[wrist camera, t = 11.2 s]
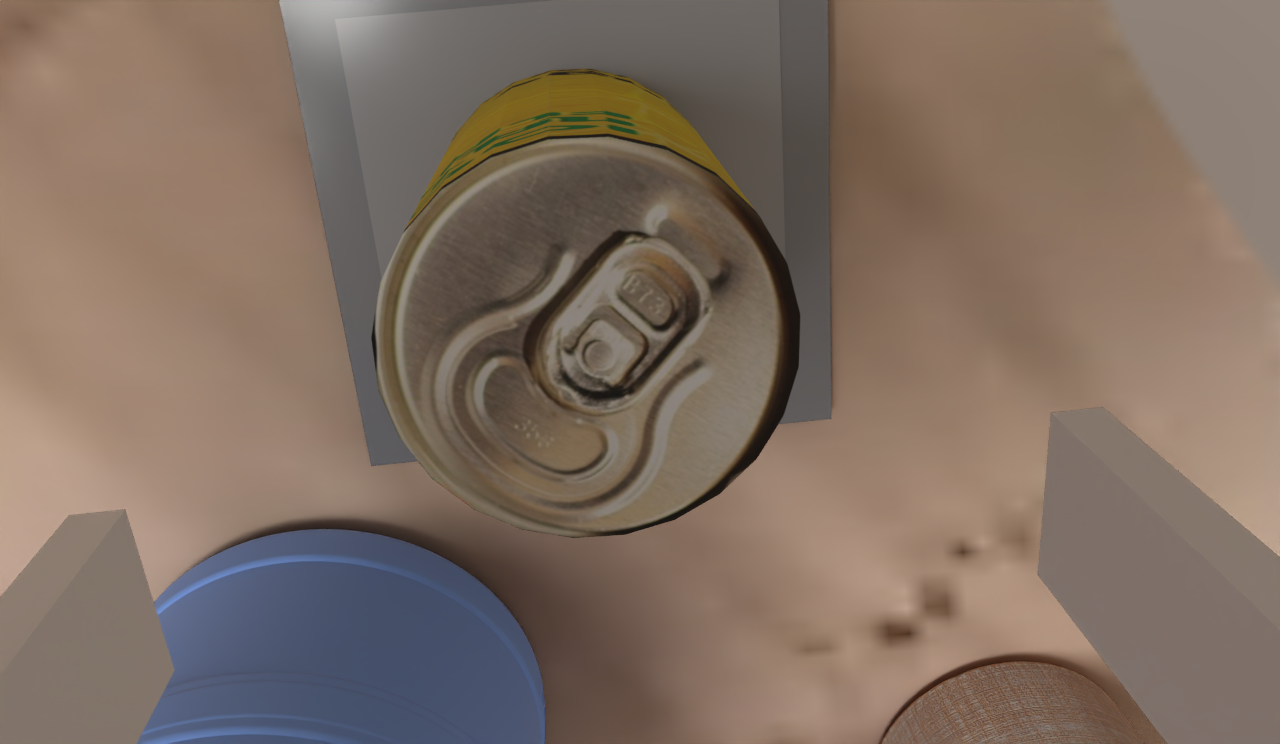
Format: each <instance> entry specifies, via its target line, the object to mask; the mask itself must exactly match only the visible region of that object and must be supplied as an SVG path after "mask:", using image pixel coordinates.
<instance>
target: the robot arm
mask: <svg viewBox="0 0 1280 744" xmlns="http://www.w3.org/2000/svg"><path fill="white" fill-rule="evenodd" d="M1038 576H1039V577H1040V578H1041V580H1042V581H1043V582H1044V584H1045V585H1046V586H1047V587H1048V589H1049V590H1050V591H1051V593H1052V594H1053V595H1054V597H1055V598H1056V599H1057V600H1058V602H1059V603H1060V604H1061V606H1062V607H1063V608H1064V610H1065V611H1066V612H1067V614H1068V615H1069V616H1070V617H1071V619H1072V620H1073V621H1074V623H1075V624H1076V625H1077V627H1078V628H1079V629H1080V631H1081V632H1082V633H1083V634H1084V636H1085V637H1086V638H1087V640H1088V641H1089V642H1090V644H1091V645H1092V646H1093V648H1094V649H1095V650H1096V651H1097V653H1098V654H1099V655H1100V657H1101V658H1102V659H1103V661H1104V662H1105V663H1106V665H1107V666H1108V667H1109V668H1110V670H1111V671H1112V672H1113V674H1114V675H1115V676H1116V678H1117V679H1118V680H1119V682H1120V683H1121V684H1122V685H1123V687H1124V688H1125V689H1126V691H1127V692H1128V693H1129V695H1130V696H1131V697H1132V698H1133V700H1134V701H1135V702H1136V704H1137V705H1138V706H1139V708H1140V709H1141V710H1142V712H1143V713H1144V714H1145V715H1146V717H1147V718H1148V719H1149V721H1150V722H1151V723H1152V725H1153V726H1154V727H1155V729H1156V730H1157V731H1158V732H1159V734H1160V735H1161V736H1162V738H1163V739H1164V740H1165V742H1166V743H1167V744H1280V557H1279V556H1278V555H1277V554H1276V553H1274V552H1273V551H1272V550H1271V549H1270V548H1269V547H1267V546H1266V545H1265V544H1264V543H1263V542H1261V541H1260V540H1259V539H1258V538H1257V537H1256V536H1254V535H1253V534H1252V533H1251V532H1250V531H1248V530H1247V529H1246V528H1245V527H1244V526H1243V525H1241V524H1240V523H1239V522H1238V521H1237V520H1235V519H1234V518H1233V517H1232V516H1231V515H1230V514H1228V513H1227V512H1226V511H1225V510H1224V509H1223V508H1221V507H1220V506H1219V505H1218V504H1217V503H1215V502H1214V501H1213V500H1212V499H1211V498H1210V497H1208V496H1207V495H1206V494H1205V493H1204V492H1202V491H1201V490H1200V489H1199V488H1198V487H1197V486H1195V485H1194V484H1193V483H1192V482H1191V481H1189V480H1188V479H1187V478H1186V477H1185V476H1184V475H1182V474H1181V473H1180V472H1179V471H1178V470H1176V469H1175V468H1174V467H1173V466H1172V465H1171V464H1169V463H1168V462H1167V461H1166V460H1165V459H1164V458H1162V457H1161V456H1160V455H1159V454H1158V453H1156V452H1155V451H1154V450H1153V449H1152V448H1151V447H1149V446H1148V445H1147V444H1146V443H1145V442H1143V441H1142V440H1141V439H1140V438H1139V437H1138V436H1136V435H1135V434H1134V433H1133V432H1132V431H1130V430H1129V429H1128V428H1127V427H1126V426H1125V425H1123V424H1122V423H1121V422H1120V421H1119V420H1117V419H1116V418H1115V417H1114V416H1113V415H1112V414H1110V413H1109V412H1108V411H1107V410H1106V409H1105V408H1103V407H1100V408H1090V409H1080V410H1071V411H1061V412H1052V413H1051V418H1050V430H1049V442H1048V455H1047V467H1046V479H1045V491H1044V503H1043V515H1042V528H1041V540H1040V552H1039V564H1038ZM174 671H175V670H174V667H173V663H172V660H171V657H170V654H169V650H168V647H167V644H166V641H165V637H164V634H163V631H162V628H161V624H160V621H159V618H158V615H157V611H156V608H155V605H154V602H153V598H152V595H151V592H150V589H149V585H148V582H147V579H146V576H145V572H144V569H143V566H142V563H141V559H140V556H139V553H138V550H137V546H136V543H135V540H134V536H133V533H132V530H131V527H130V523H129V520H128V517H127V514H126V510H125V509H124V510H115V511H105V512H96V513H86V514H77V515H69V516H68V517H67V518H66V519H65V521H64V522H63V523H62V524H61V525H60V527H59V528H58V529H57V530H56V531H55V533H54V534H53V535H52V536H51V537H50V538H49V540H48V541H47V542H46V543H45V544H44V546H43V547H42V548H41V549H40V550H39V552H38V553H37V554H36V555H35V556H34V557H33V559H32V560H31V561H30V562H29V563H28V565H27V566H26V567H25V568H24V569H23V571H22V572H21V573H20V574H19V575H18V576H17V578H16V579H15V580H14V581H13V582H12V584H11V585H10V586H9V587H8V588H7V590H6V591H5V592H4V593H3V594H2V595H1V597H0V744H137V742H138V740H139V738H140V736H141V734H142V732H143V730H144V729H145V727H146V725H147V723H148V721H149V719H150V717H151V715H152V713H153V711H154V709H155V707H156V705H157V703H158V702H159V700H160V698H161V696H162V694H163V692H164V690H165V688H166V686H167V684H168V682H169V680H170V678H171V676H172V675H173V673H174Z"/></svg>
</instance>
